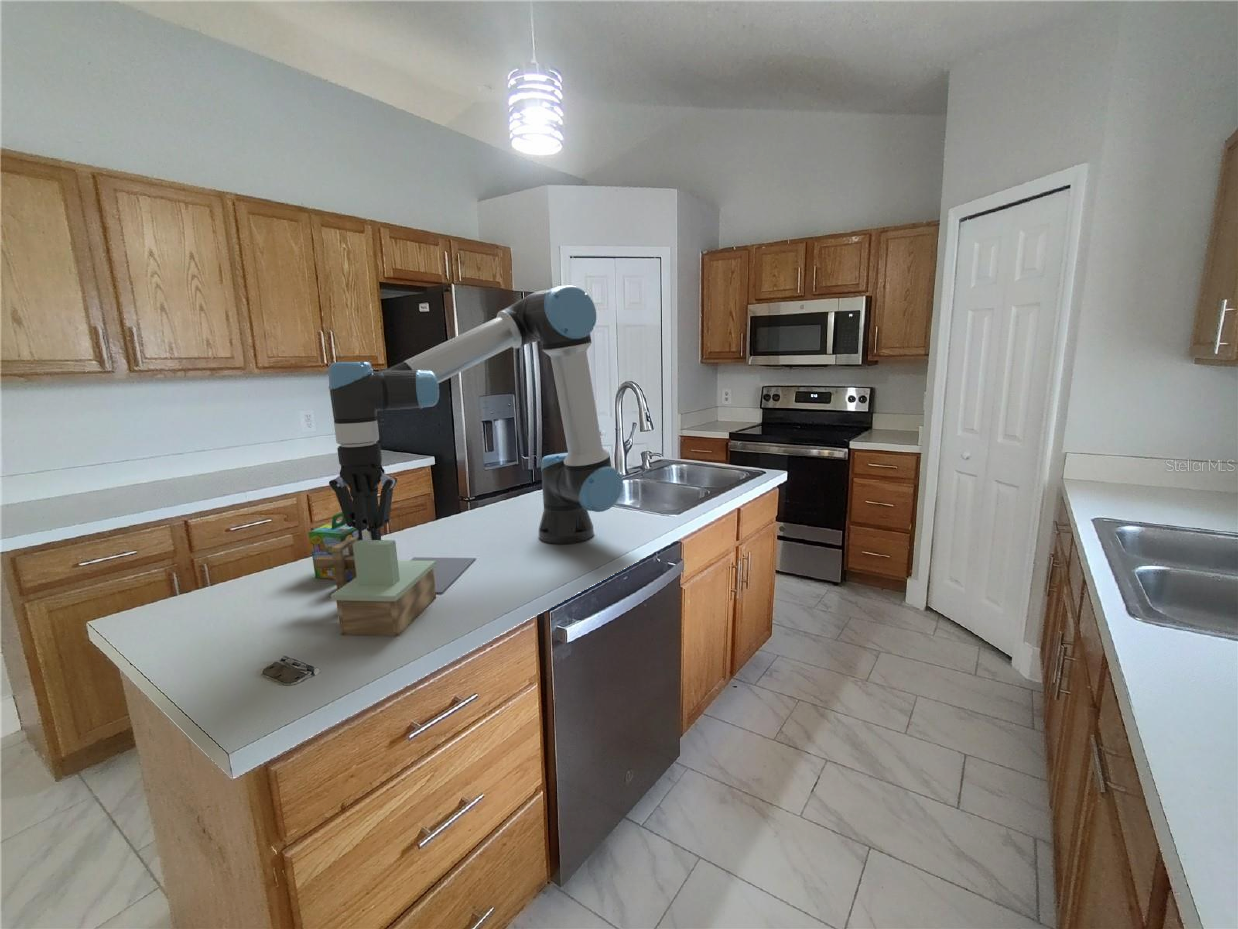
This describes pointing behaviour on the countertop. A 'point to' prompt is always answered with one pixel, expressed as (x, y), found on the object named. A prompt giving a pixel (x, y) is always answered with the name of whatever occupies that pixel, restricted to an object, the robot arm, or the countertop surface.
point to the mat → (446, 570)
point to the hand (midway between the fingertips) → (372, 559)
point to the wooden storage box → (379, 603)
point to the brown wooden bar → (327, 561)
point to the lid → (381, 573)
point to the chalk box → (329, 541)
